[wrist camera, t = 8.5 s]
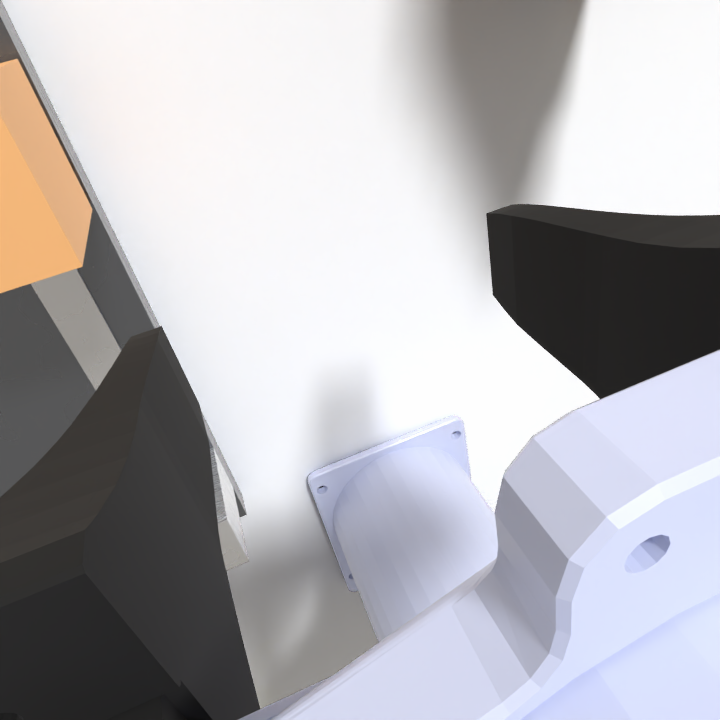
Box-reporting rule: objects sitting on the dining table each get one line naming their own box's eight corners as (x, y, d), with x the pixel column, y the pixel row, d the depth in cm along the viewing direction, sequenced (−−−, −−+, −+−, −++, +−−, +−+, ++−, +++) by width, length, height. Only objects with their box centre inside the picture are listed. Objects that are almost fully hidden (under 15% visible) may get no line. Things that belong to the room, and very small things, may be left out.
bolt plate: (242, 495, 26) (267, 606, 22) (44, 575, 25) (24, 711, 20) (-28, -58, 14) (-107, -88, 10) (-439, 36, 13) (-776, 58, 8)
